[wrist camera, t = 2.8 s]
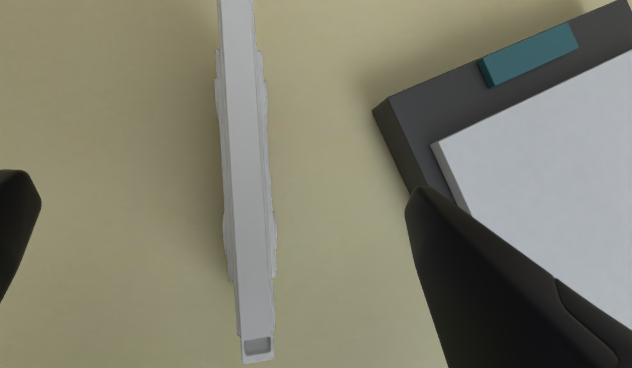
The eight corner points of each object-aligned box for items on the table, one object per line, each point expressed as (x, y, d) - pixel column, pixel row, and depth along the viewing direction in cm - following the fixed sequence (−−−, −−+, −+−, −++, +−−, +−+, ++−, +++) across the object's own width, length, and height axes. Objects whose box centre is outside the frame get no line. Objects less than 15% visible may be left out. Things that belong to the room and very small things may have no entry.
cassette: (273, 295, 17) (294, 363, 9) (234, 300, 16) (222, 375, 9) (257, 61, 17) (264, -52, 10) (220, 61, 17) (198, -57, 10)
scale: (707, 276, 22) (776, 286, 19) (513, 420, 19) (563, 459, 16) (589, 17, 22) (641, -13, 19) (371, 110, 18) (394, 91, 16)
